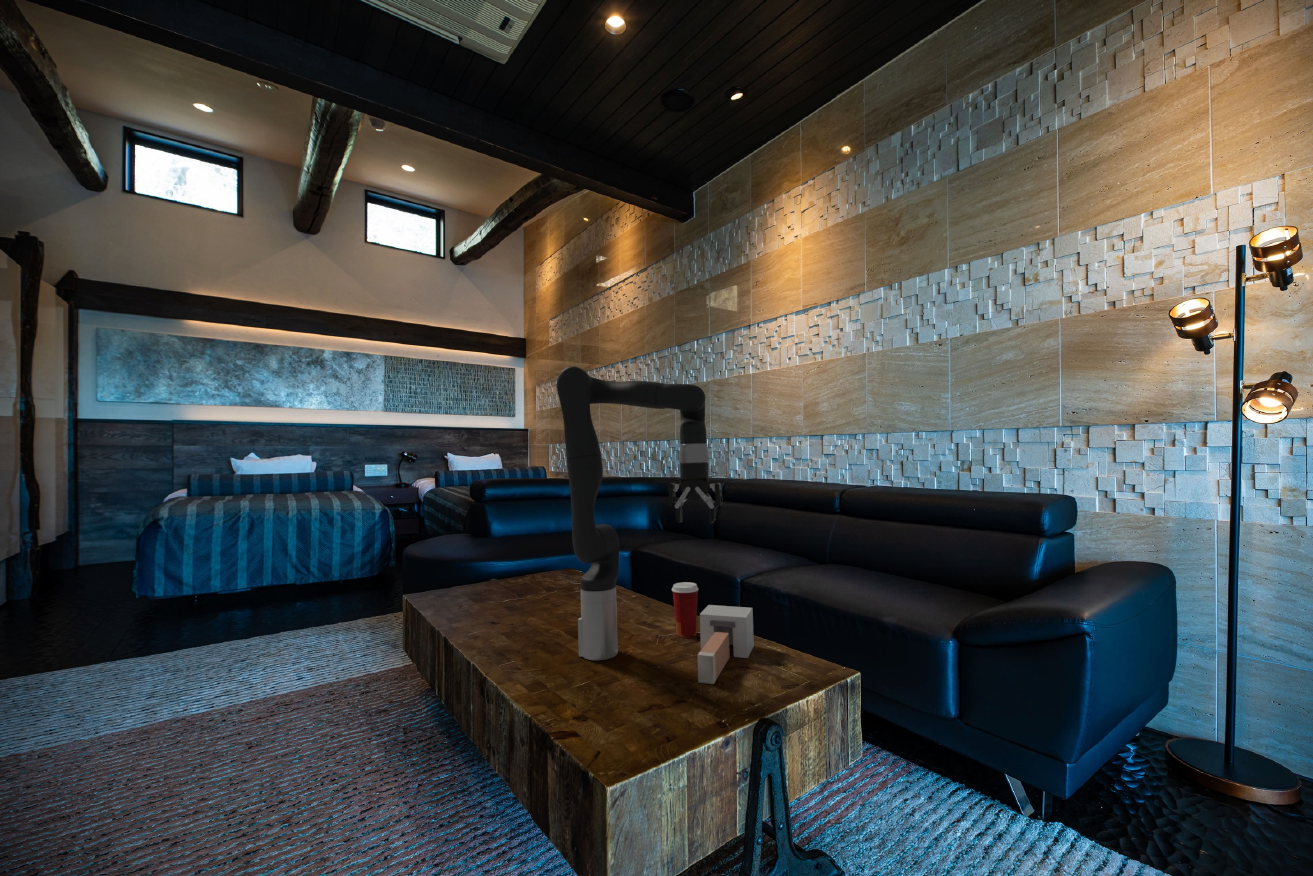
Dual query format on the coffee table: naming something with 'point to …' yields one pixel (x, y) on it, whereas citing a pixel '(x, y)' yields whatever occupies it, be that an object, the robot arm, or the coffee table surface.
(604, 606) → the robot arm
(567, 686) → the coffee table surface
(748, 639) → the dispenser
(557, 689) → the coffee table surface
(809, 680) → the coffee table surface
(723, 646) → the pink white-banded pillar
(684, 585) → the paper cup
